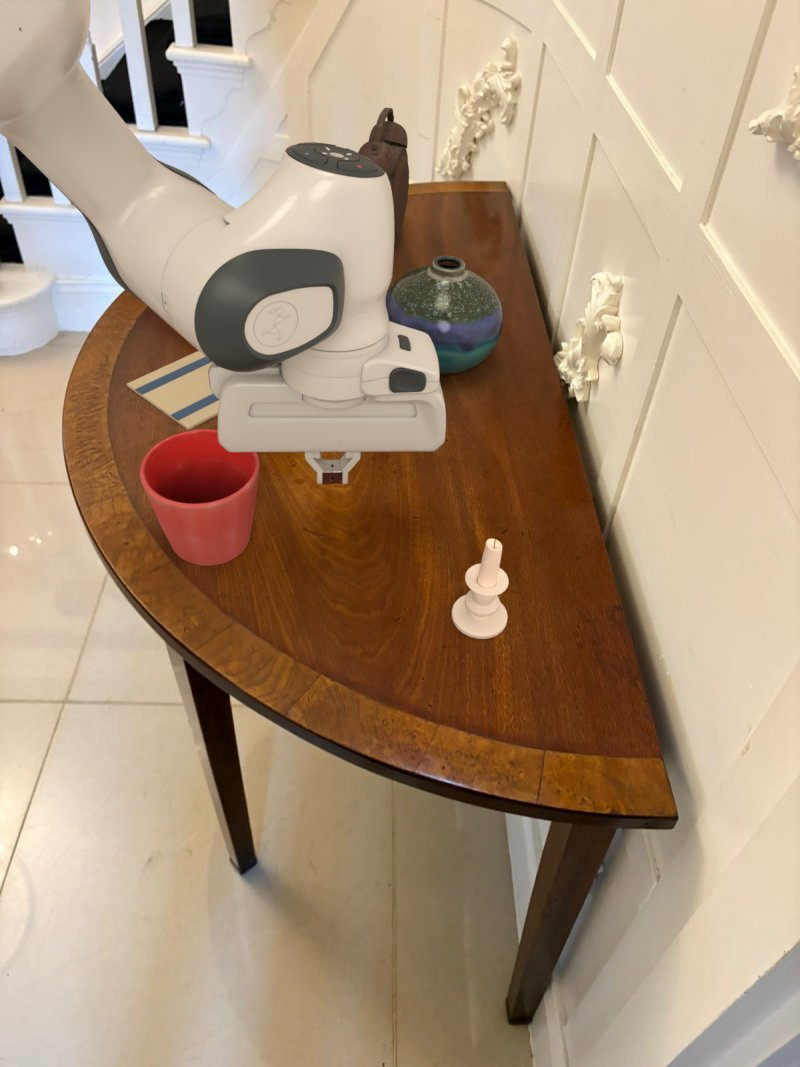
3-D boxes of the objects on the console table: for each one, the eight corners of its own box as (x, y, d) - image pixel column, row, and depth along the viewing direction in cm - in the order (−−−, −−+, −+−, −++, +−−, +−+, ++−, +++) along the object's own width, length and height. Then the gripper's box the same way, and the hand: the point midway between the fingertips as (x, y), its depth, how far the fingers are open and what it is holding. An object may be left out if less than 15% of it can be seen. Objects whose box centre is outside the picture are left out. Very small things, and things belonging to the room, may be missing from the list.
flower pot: (288, 532, 80) (284, 458, 73) (210, 596, 73) (197, 522, 66) (213, 487, 84) (203, 413, 77) (132, 545, 77) (113, 469, 70)
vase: (518, 374, 103) (537, 279, 93) (417, 403, 97) (426, 305, 87) (456, 318, 112) (467, 226, 102) (360, 341, 106) (362, 246, 96)
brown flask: (365, 224, 132) (369, 92, 118) (407, 230, 131) (416, 98, 117) (344, 262, 122) (345, 123, 108) (389, 269, 121) (397, 130, 107)
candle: (500, 594, 76) (518, 516, 68) (512, 637, 72) (532, 560, 65) (447, 597, 75) (459, 519, 68) (456, 641, 71) (470, 563, 64)
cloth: (188, 430, 90) (187, 427, 90) (126, 386, 96) (126, 383, 95) (314, 364, 101) (314, 361, 101) (253, 328, 107) (253, 325, 106)
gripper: (202, 374, 62) (218, 503, 71) (458, 376, 64) (440, 501, 74) (208, 332, 66) (222, 459, 76) (447, 335, 69) (431, 458, 78)
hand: (332, 480), depth 75 cm, fingers closed
